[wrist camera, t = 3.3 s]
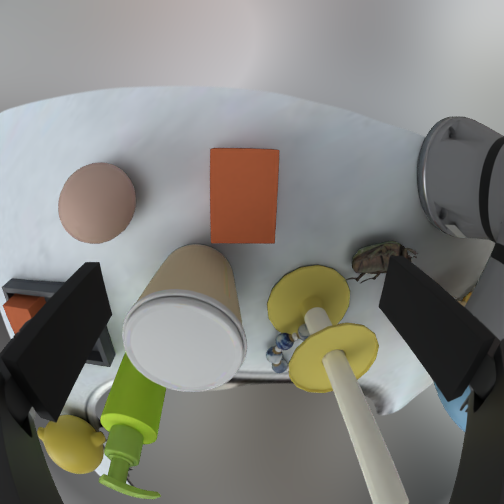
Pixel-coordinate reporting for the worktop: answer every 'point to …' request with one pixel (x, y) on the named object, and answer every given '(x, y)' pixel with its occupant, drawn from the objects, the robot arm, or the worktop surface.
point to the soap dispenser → (130, 425)
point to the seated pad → (22, 309)
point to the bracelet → (284, 348)
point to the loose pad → (243, 195)
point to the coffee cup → (187, 323)
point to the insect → (378, 258)
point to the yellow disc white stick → (336, 365)
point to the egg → (97, 203)
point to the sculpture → (73, 444)
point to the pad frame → (103, 347)
